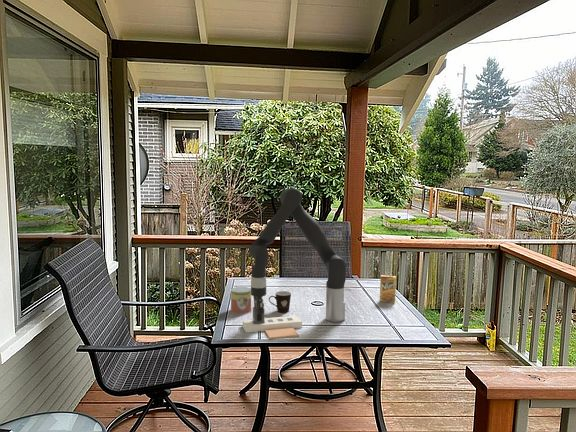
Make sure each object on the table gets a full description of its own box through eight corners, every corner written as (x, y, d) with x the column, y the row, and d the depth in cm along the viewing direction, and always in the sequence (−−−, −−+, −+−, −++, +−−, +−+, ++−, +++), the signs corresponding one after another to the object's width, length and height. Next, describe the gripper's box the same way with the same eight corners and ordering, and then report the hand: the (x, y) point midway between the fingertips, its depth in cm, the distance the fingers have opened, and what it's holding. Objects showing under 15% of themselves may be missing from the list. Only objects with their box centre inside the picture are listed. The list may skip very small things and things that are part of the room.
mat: (292, 328, 219) (292, 327, 219) (298, 336, 210) (298, 334, 210) (264, 331, 216) (264, 329, 216) (269, 339, 206) (269, 337, 206)
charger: (262, 326, 223) (262, 306, 222) (264, 328, 219) (264, 309, 218) (252, 326, 222) (252, 307, 221) (254, 329, 218) (254, 309, 217)
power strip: (296, 321, 230) (296, 315, 230) (302, 327, 222) (302, 321, 221) (242, 325, 223) (242, 319, 223) (246, 332, 214) (245, 326, 214)
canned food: (232, 315, 239) (232, 293, 238) (229, 308, 250) (229, 287, 249) (253, 313, 242) (253, 291, 241) (249, 306, 253) (249, 286, 252)
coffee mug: (292, 309, 249) (292, 291, 248) (288, 314, 241) (288, 296, 240) (272, 307, 253) (272, 290, 251) (268, 312, 244) (268, 294, 243)
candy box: (379, 301, 265) (380, 276, 264) (380, 299, 269) (381, 274, 268) (394, 303, 263) (395, 277, 261) (395, 301, 267) (396, 275, 265)
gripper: (269, 288, 212) (269, 323, 214) (263, 281, 226) (263, 314, 228) (253, 289, 210) (253, 325, 212) (248, 282, 224) (248, 315, 226)
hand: (258, 319), depth 220 cm, fingers closed on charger, 4 cm apart
